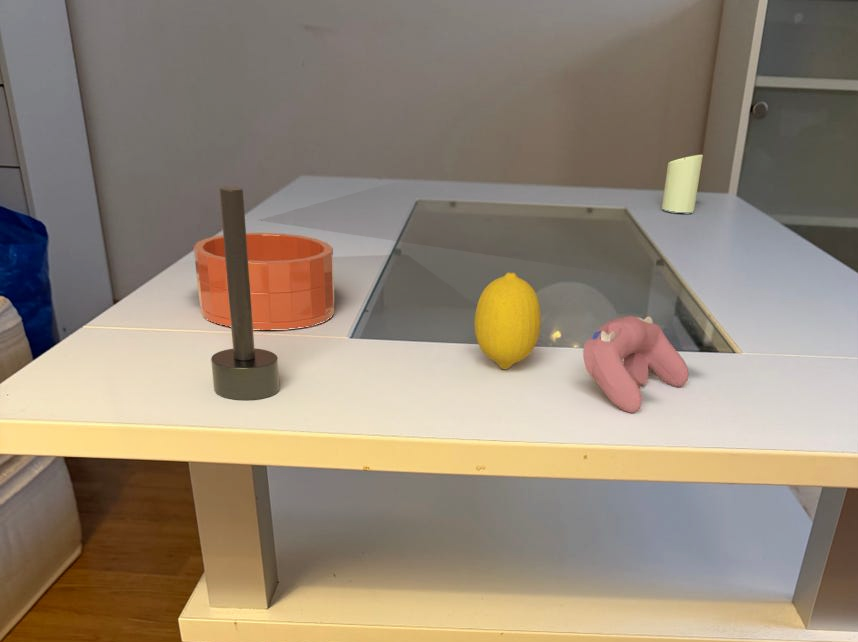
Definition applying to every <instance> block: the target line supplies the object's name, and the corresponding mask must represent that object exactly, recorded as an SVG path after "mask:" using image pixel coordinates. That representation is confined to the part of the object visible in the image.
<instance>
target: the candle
mask: <svg viewBox="0 0 858 642" xmlns="http://www.w3.org/2000/svg"><path fill="white" fill-rule="evenodd" d="M703 157H704V155H703V154H696V155H690V156H684V157H682V158H678V159H675V160H671V161H669V162H668V163H667V167H666V168H667V170H666V176H665V182H664V189H663V197H662V203H661V210H662V209H665V210H669V211H675V212H693V211H694V212H695V207H696V201H697V194H698V188H699V182H700V177H701V170H702V164H703V159H704V158H703ZM694 212H693V213H694Z"/></svg>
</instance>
